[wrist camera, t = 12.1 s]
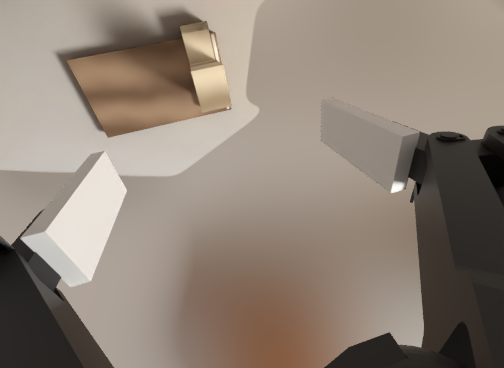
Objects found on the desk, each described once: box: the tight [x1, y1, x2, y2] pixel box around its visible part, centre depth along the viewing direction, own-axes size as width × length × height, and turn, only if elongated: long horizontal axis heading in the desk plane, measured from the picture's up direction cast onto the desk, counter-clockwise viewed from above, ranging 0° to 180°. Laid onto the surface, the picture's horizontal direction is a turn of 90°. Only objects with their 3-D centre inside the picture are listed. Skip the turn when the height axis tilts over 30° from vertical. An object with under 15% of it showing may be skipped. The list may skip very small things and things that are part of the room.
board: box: [66, 32, 231, 137], centre depth 39 cm, size 12×22×2 cm, turn 99°
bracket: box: [180, 21, 232, 113], centre depth 34 cm, size 12×4×13 cm, turn 9°
